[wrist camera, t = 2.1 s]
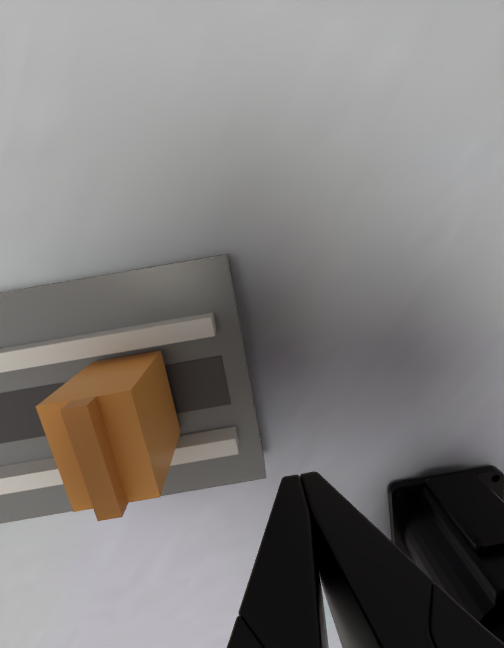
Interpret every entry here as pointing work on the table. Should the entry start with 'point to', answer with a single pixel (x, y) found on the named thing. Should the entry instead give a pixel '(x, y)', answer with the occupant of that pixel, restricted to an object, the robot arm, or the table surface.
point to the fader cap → (113, 432)
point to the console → (118, 341)
